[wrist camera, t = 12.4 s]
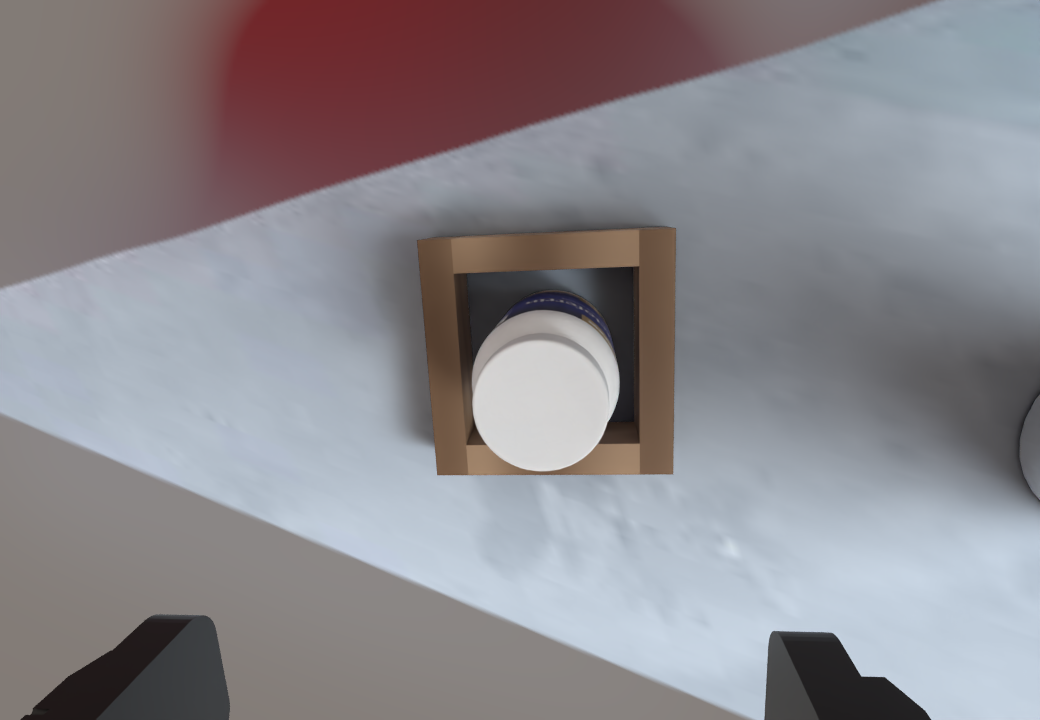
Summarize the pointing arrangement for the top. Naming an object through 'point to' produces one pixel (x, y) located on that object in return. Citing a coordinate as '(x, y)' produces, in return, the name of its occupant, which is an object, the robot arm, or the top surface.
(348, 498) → the top surface
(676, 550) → the top surface
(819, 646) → the robot arm
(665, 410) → the socket block
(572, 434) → the pill bottle
